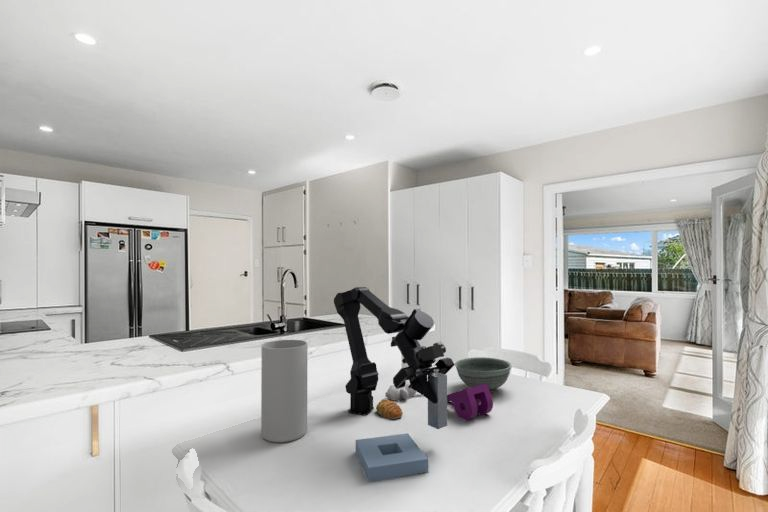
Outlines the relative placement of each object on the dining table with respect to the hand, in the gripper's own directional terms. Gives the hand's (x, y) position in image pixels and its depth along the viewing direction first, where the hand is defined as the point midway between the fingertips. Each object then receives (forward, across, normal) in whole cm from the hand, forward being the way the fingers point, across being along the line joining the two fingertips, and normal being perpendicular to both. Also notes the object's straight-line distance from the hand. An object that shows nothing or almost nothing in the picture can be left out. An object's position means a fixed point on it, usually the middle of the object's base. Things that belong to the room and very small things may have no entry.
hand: (441, 401), depth 100 cm
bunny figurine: (-16, +20, +34) cm, 43 cm away
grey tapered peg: (+4, 0, +6) cm, 7 cm away
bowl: (-7, +48, +25) cm, 54 cm away
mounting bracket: (-1, +25, +19) cm, 32 cm away
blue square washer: (+6, -14, +12) cm, 19 cm away
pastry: (-10, +6, +28) cm, 30 cm away
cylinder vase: (-16, -26, +34) cm, 45 cm away
